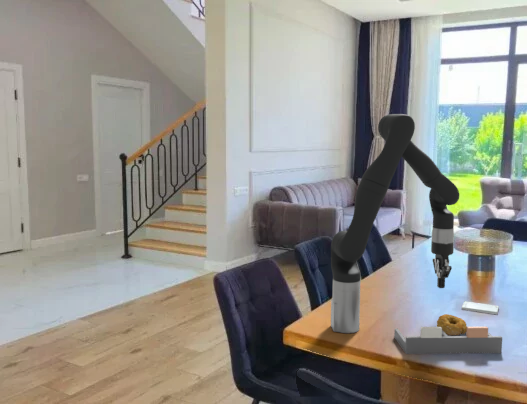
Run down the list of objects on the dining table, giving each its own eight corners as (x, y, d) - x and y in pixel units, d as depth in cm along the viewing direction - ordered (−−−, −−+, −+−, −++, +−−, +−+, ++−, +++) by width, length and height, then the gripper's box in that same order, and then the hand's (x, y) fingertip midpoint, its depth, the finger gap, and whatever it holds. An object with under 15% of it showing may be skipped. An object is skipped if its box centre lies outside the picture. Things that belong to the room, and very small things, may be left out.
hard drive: (499, 305, 199) (464, 300, 205) (497, 311, 192) (461, 306, 197) (498, 309, 199) (464, 304, 205) (497, 316, 192) (461, 310, 198)
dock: (406, 354, 157) (407, 328, 156) (394, 337, 170) (395, 313, 169) (501, 353, 157) (503, 327, 156) (482, 336, 170) (483, 313, 169)
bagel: (435, 334, 172) (436, 320, 172) (437, 324, 183) (437, 310, 182) (467, 339, 169) (468, 325, 168) (467, 328, 179) (468, 314, 179)
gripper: (425, 236, 192) (424, 282, 194) (438, 244, 179) (437, 293, 181) (446, 236, 192) (444, 282, 194) (460, 244, 179) (458, 293, 181)
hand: (440, 287), depth 188 cm, fingers closed
